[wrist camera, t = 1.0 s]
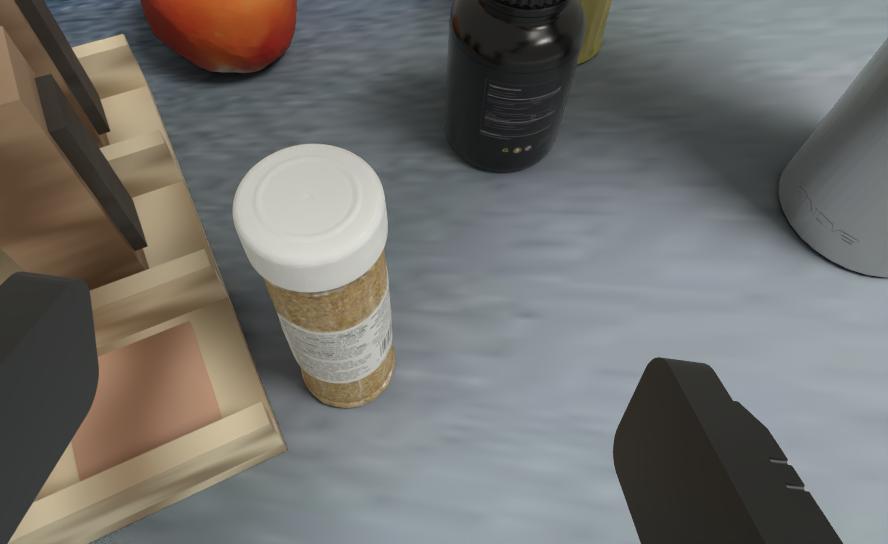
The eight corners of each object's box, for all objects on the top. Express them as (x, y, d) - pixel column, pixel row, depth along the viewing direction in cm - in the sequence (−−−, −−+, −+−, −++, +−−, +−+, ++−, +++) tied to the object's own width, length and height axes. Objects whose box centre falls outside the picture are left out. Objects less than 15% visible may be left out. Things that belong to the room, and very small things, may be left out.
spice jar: (326, 311, 31) (274, 120, 20) (410, 340, 31) (407, 161, 19) (284, 393, 29) (198, 232, 17) (374, 426, 28) (347, 282, 17)
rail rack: (149, 87, 39) (41, -137, 27) (287, 449, 28) (201, 324, 17) (-44, 144, 36) (-254, -81, 25) (25, 572, 25) (-294, 521, 14)
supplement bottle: (434, 99, 39) (440, -94, 29) (538, 88, 40) (581, -103, 30) (455, 184, 36) (471, 0, 25) (568, 170, 37) (629, -13, 26)
